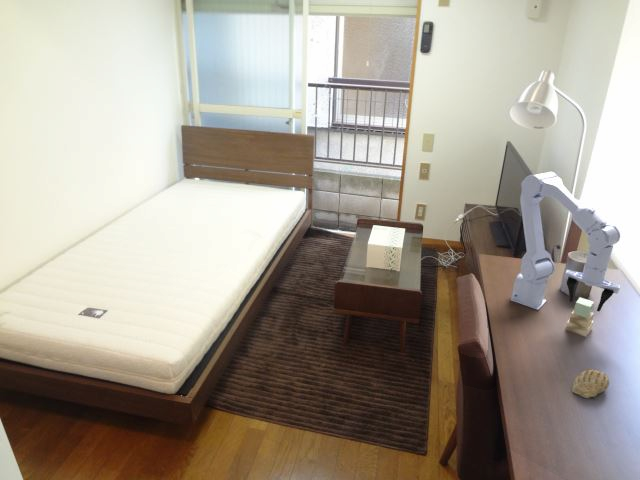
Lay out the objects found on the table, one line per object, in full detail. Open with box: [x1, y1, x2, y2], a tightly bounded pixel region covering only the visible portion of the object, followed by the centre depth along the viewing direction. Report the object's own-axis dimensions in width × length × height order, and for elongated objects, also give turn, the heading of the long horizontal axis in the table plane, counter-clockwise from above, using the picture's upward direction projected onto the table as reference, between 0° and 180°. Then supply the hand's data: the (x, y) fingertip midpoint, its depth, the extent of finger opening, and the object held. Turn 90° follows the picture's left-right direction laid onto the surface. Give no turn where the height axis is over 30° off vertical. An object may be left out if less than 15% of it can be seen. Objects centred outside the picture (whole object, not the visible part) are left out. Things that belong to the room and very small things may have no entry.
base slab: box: [565, 319, 594, 338], centre depth 150 cm, size 6×6×3 cm
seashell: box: [571, 368, 610, 399], centre depth 124 cm, size 8×6×10 cm
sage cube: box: [572, 297, 595, 318], centre depth 147 cm, size 4×4×4 cm
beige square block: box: [568, 310, 595, 328], centre depth 149 cm, size 5×5×3 cm
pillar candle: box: [559, 250, 593, 299], centre depth 169 cm, size 10×10×15 cm
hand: (585, 305), depth 147 cm, fingers open, 7 cm apart
